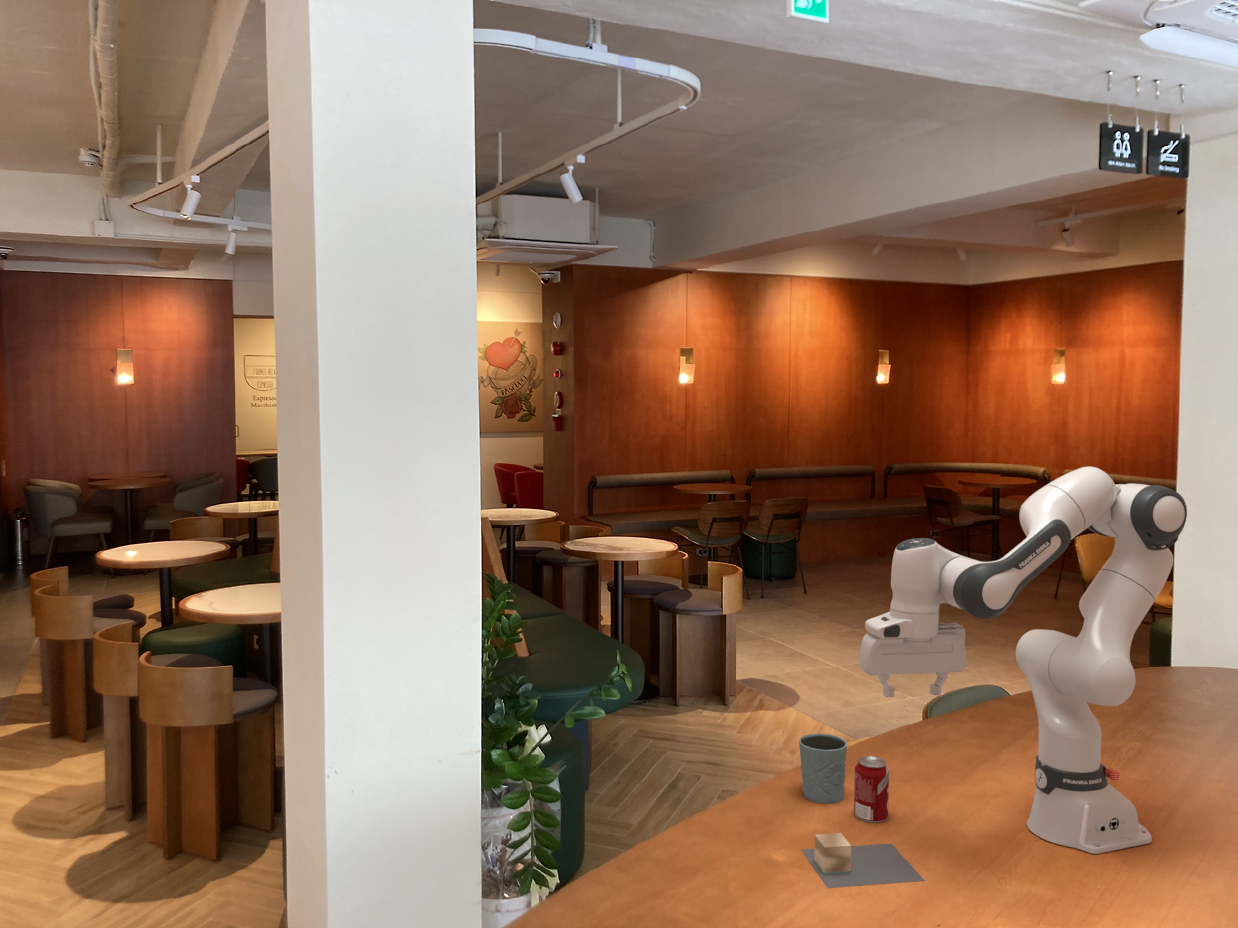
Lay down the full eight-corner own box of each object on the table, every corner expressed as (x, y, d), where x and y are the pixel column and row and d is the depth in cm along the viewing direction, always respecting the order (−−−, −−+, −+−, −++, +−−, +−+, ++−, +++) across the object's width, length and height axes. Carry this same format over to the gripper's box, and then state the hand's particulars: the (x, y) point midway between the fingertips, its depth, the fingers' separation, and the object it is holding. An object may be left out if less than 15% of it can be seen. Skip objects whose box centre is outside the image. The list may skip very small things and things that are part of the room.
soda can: (869, 828, 187) (871, 769, 187) (846, 814, 193) (848, 758, 193) (895, 821, 191) (896, 763, 190) (871, 808, 197) (873, 752, 196)
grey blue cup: (846, 807, 197) (847, 751, 196) (797, 803, 199) (798, 747, 198) (845, 787, 207) (846, 734, 206) (798, 783, 209) (799, 731, 208)
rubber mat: (891, 846, 180) (891, 843, 180) (925, 883, 166) (925, 880, 166) (800, 852, 177) (800, 849, 177) (827, 891, 164) (827, 887, 164)
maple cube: (814, 834, 173) (814, 860, 173) (824, 847, 168) (823, 874, 168) (840, 832, 173) (840, 858, 174) (851, 845, 169) (850, 872, 169)
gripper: (957, 618, 183) (955, 687, 184) (857, 621, 180) (855, 692, 181) (973, 626, 177) (971, 698, 178) (870, 629, 174) (868, 702, 175)
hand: (912, 695), depth 179 cm, fingers open, 8 cm apart
